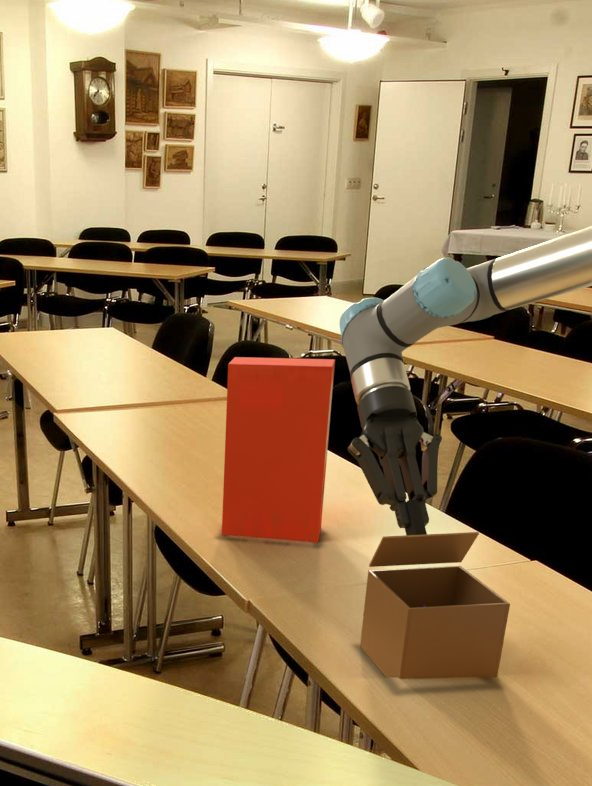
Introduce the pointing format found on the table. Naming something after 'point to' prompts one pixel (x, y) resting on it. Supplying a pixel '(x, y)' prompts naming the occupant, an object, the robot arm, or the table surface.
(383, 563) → the flap
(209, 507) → the table surface
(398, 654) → the carton
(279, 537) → the red rectangular block
